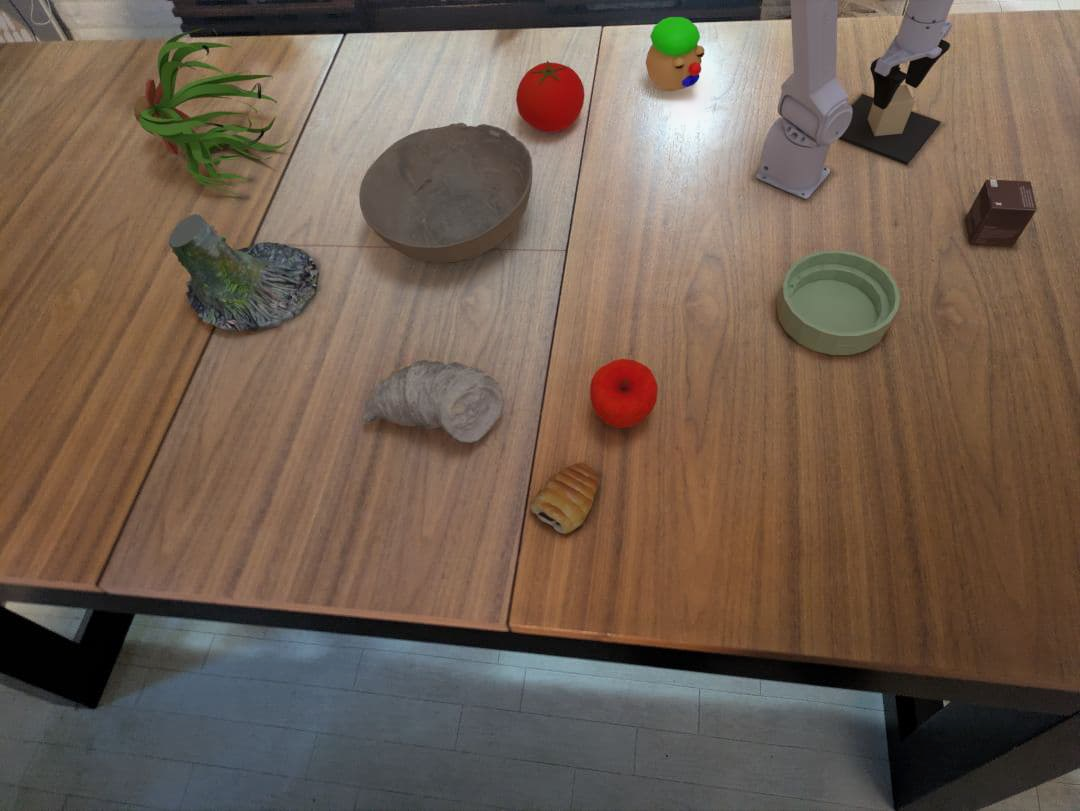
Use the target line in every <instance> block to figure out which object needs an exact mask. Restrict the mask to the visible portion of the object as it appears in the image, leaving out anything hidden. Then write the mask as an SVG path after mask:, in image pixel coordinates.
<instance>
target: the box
mask: <svg viewBox="0 0 1080 811" xmlns="http://www.w3.org/2000/svg"><path fill="white" fill-rule="evenodd" d="M1037 208H1038V207H1037V203H1036V199H1035V195H1034V190H1033V187H1032V182H1031V180H1029V181H1028V180H1009V179H1008V180H1007V179H985V180H984V182H983V185H982V186H981V188H980V190H979V191H978V194H977V195H976V197H975V199H974V200H973V203H972V204H971V206H970V208H969V210H968V212H967V214H966V216H965V219H966V225H967V231H968V232H967V233H968V237H969V243H970V244H971V245H979V246H980V245H982V246H984V245H985V246H999V247H1000V246H1001V247H1014V246H1015V244H1016V242H1017V241H1018V240H1019V238H1020V236H1021V235H1022V233H1023V232H1024V230H1025V229H1026V228H1027V226H1028V224H1029V222H1030V221H1031V220H1032V219H1033V217H1034V215H1035V214H1036V213H1037V211H1038V209H1037Z"/></svg>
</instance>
